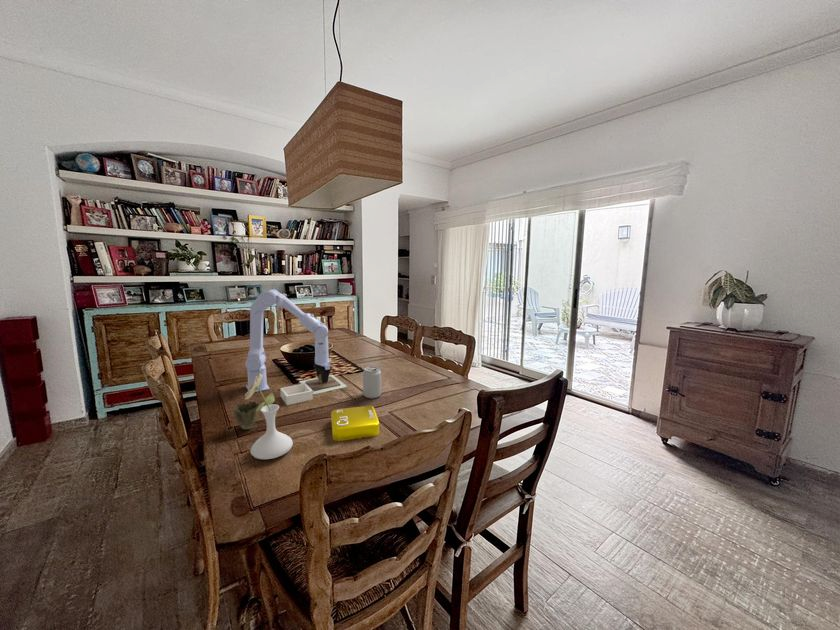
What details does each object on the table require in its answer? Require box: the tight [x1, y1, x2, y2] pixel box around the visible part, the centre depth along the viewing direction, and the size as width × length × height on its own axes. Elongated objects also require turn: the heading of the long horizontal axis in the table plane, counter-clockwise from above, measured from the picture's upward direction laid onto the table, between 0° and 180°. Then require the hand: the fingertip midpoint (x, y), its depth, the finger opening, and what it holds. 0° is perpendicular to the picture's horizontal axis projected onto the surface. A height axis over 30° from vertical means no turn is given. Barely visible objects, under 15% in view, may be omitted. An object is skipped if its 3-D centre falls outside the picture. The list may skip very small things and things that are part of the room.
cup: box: [232, 400, 260, 431], centre depth 108 cm, size 8×7×8 cm
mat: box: [299, 374, 348, 395], centre depth 148 cm, size 18×16×1 cm
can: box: [362, 366, 382, 399], centre depth 136 cm, size 8×8×12 cm
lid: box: [305, 374, 341, 391], centre depth 147 cm, size 12×12×4 cm
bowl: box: [279, 383, 314, 406], centre depth 132 cm, size 10×10×4 cm
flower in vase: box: [244, 374, 294, 460], centre depth 93 cm, size 13×11×25 cm
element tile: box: [330, 405, 380, 442], centre depth 111 cm, size 15×15×5 cm
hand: (322, 380), depth 147 cm, fingers open, 5 cm apart
